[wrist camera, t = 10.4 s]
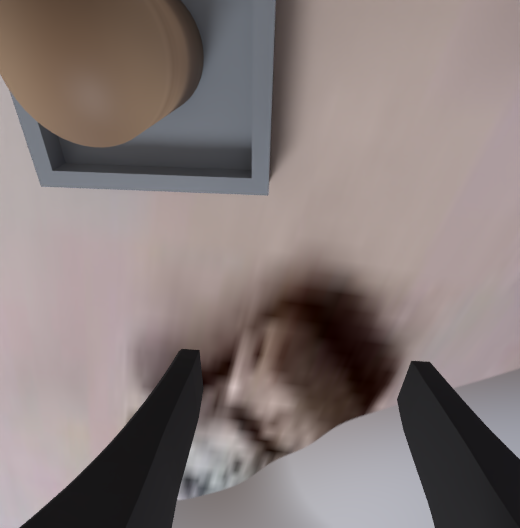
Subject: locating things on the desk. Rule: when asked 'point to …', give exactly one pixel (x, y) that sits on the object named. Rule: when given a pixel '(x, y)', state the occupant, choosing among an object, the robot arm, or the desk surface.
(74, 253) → the desk surface
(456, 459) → the robot arm
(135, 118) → the cylinder
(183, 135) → the tray
